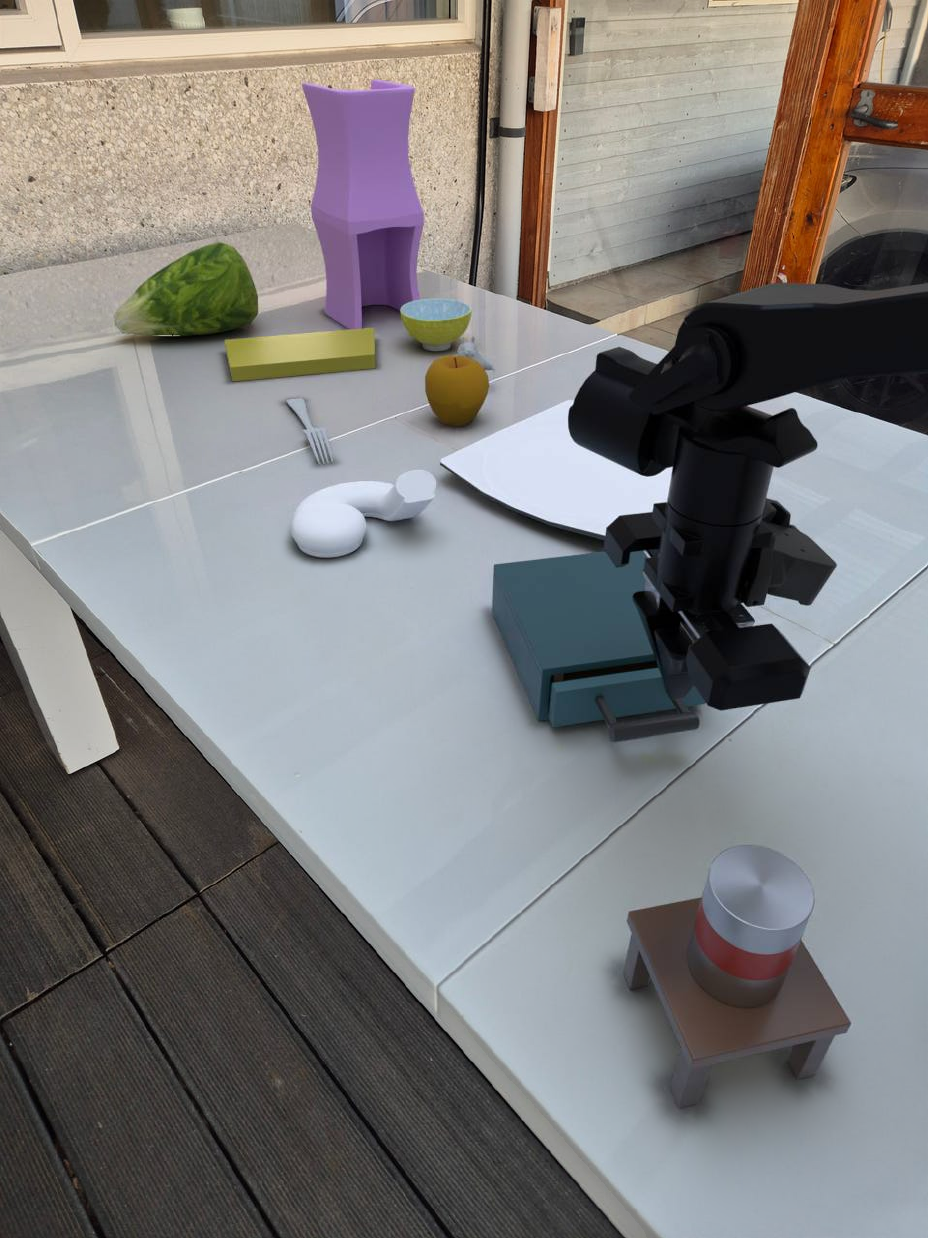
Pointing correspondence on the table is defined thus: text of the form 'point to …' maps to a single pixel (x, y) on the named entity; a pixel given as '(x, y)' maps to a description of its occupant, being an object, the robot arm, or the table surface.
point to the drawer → (621, 701)
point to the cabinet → (569, 617)
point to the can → (749, 925)
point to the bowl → (436, 321)
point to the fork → (311, 429)
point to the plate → (555, 476)
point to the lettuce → (193, 296)
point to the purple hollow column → (365, 198)
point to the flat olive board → (301, 354)
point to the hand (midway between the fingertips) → (676, 695)
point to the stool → (719, 1028)
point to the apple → (456, 389)
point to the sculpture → (357, 511)
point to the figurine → (473, 353)
